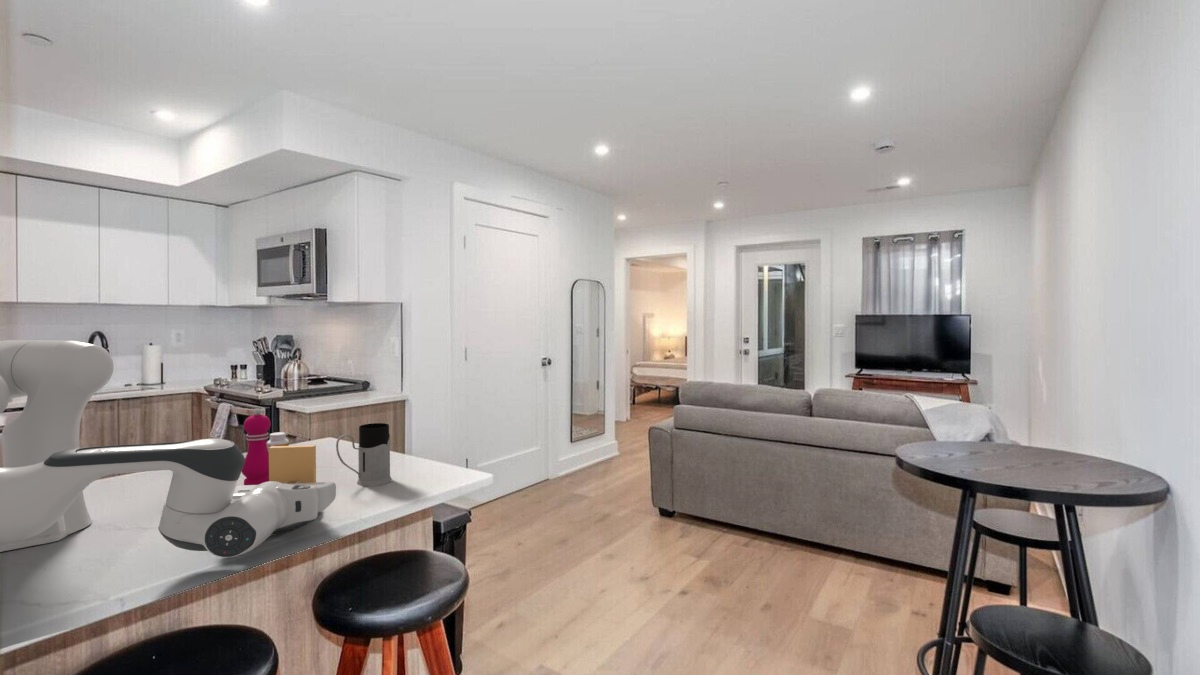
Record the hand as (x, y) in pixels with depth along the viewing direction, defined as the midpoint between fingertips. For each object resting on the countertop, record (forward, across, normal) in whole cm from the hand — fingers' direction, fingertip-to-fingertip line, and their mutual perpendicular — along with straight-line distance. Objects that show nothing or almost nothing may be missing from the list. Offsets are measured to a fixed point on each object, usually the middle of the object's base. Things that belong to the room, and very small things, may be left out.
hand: (294, 484), depth 122 cm
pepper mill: (+28, -18, -8) cm, 34 cm away
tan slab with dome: (+1, -3, -5) cm, 6 cm away
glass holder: (+25, +9, -8) cm, 28 cm away
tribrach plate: (+1, -7, -8) cm, 10 cm away
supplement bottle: (+43, -19, -8) cm, 48 cm away
